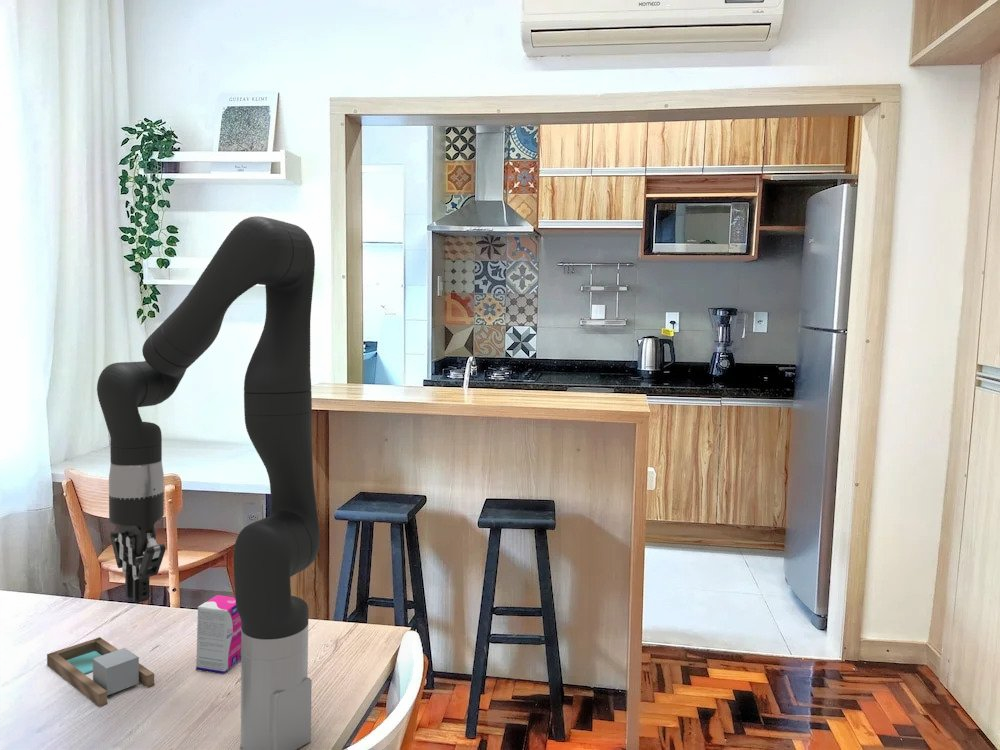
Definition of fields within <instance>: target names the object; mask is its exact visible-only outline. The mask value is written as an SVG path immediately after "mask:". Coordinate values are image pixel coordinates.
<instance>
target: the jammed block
mask: <svg viewBox="0 0 1000 750" xmlns="http://www.w3.org/2000/svg"><path fill="white" fill-rule="evenodd" d="M139 658H140V657H139V656H138V655H136V654H135V653H134V652H132V651H131V650H129V649H128V648H126V647H122V648H120V649H119V648H118V650H116V651H113V652H111V653H108V654H105V655H102V656H99V657H96V658H93V672H92V680H93V681H94V682H95V683H97V684H98V685H99V686H101V687H102V688H103V689H105V690H106V691H107V696H109V695H112V694H114V693H117V692H119V691H123V690H125V689H127V688H131V687H132V686H133V687H134V686H136V685H137V684H138V685H139V684H140V683H139V664H140V659H139Z"/></svg>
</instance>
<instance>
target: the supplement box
mask: <svg viewBox="0 0 1000 750" xmlns="http://www.w3.org/2000/svg"><path fill="white" fill-rule="evenodd" d="M196 624H197V626H196V627H197V628H196V629H197V630H196V660H195V661H196V662H195V663H196V665H195V670H196V671H199V670H201V671H200V672H206V671H208V673H213V672H214V673H213V674H219V673H220V674H221V675H225V674H226V673H227V672H229V671H230V670H231V669H232V668H233V667H235V666H236V665H237V664H238V663H240V662H241V661H240V660H241V635H242V624H241V618H240V615H239V613H238V611H237V607H236V601H235V597H234V596H233V597H232V596H225V595H219V594H216V595H215V596H213V597H211V598H210V599H208V600H207V601H205V602H203V603H202V604H200V605H199V606H197V623H196ZM239 661H240V662H239ZM235 664H236V665H235Z"/></svg>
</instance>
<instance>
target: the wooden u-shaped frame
mask: <svg viewBox="0 0 1000 750" xmlns="http://www.w3.org/2000/svg"><path fill="white" fill-rule="evenodd" d="M116 650H119V648H117V647H116V646H114V645H112V644H111V643H109V642H108V641H107V640H105V639H103V638H102V637H96V638H93V639H91V640H87V641H83V642H81V643H76V644H74V645H72V646H68V647H65V648H62V649H60V650H59V649H58V650H56V651H52V652H50V653H47V654H46V665H47V666H48V667H49V668H50V669H51V670H52V671H53V672H55V673H56V674H57V675H58V676H60V677H61V678H63V679H64V681H66V682H68V683H69V684H70V685H71V686H72V687H74V688H75V689H76V690H77V691H79V692H80V693H81V694H82V695H84V696H85V697H86V698H87V699H89V700H90V701H91V702H93V703H94V704H95V705H96V706H98V707H99V708H100V707H102V706H104V705H108V695H107V691H106V690H105V689H103V688H102V687H101V686H99V685H98V684H97V683H95V682H94V681H93V679H92V678H90V677H89V676H87V675H88V674H90V673H93V658H96V657H99V656H102V655H105V654H108V653H111V652H113V651H116ZM139 682H140V683H139V684H141V685H142V684H143V685H142V686H144V687H145V686H146V687H145V688H147V687H148V688H150V687H152V685H153V686H155V673H154V672H153V671H151V670H150V669H149V668H147V667H145V666H144V665H143V664H141V663H139ZM149 686H150V687H149Z"/></svg>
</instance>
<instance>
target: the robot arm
mask: <svg viewBox="0 0 1000 750" xmlns="http://www.w3.org/2000/svg"><path fill="white" fill-rule="evenodd" d="M315 257H316V256H315V247H314V245H313V241H312V239H311V237H310V235H309V234H308V232H307V231H306V230H304V229H303V227H301V226H299V225H296V224H294V223H289V222H286V221H282V220H278V219H275V218H269V217H264V216H259V215H258V216H257V215H256V216H249V217H247V218H244V219H242V220H241V221H240V222H238V223H237V224H236V225H235V226H234V227H233V228H232V229H231V231H230V232H229V233H228V235H227V236H226V237H225V239H224V240H223V242H221V244H220V246H219V248H218V249H217V251H216V253H215V254H214V255H213V256H212V258H211V259H210V262H209V263H208V264H207V265H206V267H205V268H204V270H203V271H202V273H201V275H200V276H199V278H198V280H197V281H196V282H195V284H194V286H192V288H191V289H190V291H189V292H188V294H187V295H186V297H185V298H184V299H183V301H181V302H180V304H178V306H177V307H176V308H175V309H174V310H173V311H172V312H171V313H170V314H169V316H167V318H166V319H165V320H163V322H162V323H161V324H160V325H159V326H158V327H156V329H155V330H154V331H153V332H152V333H151V334H150V335H149V336H148V337H147V339H146V340H145V341H144V343H143V345H142V356H143V358H144V361H125V362H124V361H122V362H114V363H111V364H108V365H107V366H106V367H104V368H103V370H102V371H101V372H100V374H99V376H98V380H97V383H96V392H97V399H98V402H99V405H100V408H101V412H102V415H103V417H104V418H103V419H104V421H105V425H106V428H107V431H108V433H109V434H108V435H109V437H110V443H109V445H110V447H109V448H110V452H109V453H110V468H109V474H108V520H109V523H111V524H112V525H115V526H118V529H117V530H115V531H110V534H109V536H110V541H111V545H112V549H113V553H114V557H115V562H116V566H117V568H118V569H121V570H122V574H123V576H125V577H124V578H125V579H124V583H125V587H124V589H125V594H124V595H125V598H127V599H128V600H132V601H133V602H134V603H136V604H139V603H144V602H146V601H148V600H149V599H150V577H153V576H158V573H159V572H160V571H159V570H160V568H161V565H162V562H163V559H164V555H165V552H166V545H165V543H162V544H158V543H157V541H156V538H157V533H156V527H155V525H156V523H157V522H159V521H160V520H162V519H163V517H164V515H165V513H164V512H165V504H164V502H165V499H164V498H165V497H164V496H165V495H164V493H165V490H164V489H165V488H164V487H165V486H164V484H165V481H164V480H165V478H164V477H165V475H164V469H163V451H162V449H163V448H162V447H163V446H162V445H163V443H162V440H163V439H162V437H163V436H162V429H161V427H160V426H159V425H158V424H156V423H154V422H150V421H143V420H142V419H143V418H141V414H140V412H139V408H144V407H152V406H156V405H159V404H162V403H164V402H165V401H166V400H168V399H169V398H170V397H172V395H173V394H174V393H175V392H176V390H177V388H178V386H179V384H180V383H181V381H182V379H183V378H184V376H185V373H186V372H187V370H188V368H189V367H190V366H192V365H193V364H194V363H195V362H196V361H197V360H198V359H199V358H201V356H202V355H203V354H204V353H205V352H206V351H207V350H208V349H209V348H210V347H211V345H212V344H214V342H215V340H216V339H217V338H218V337H217V336H219V332H220V330H221V327H222V324H223V321H224V317H225V315H226V313H227V311H228V309H229V308H230V307H231V305H232V304H233V302H235V301H236V300H237V299H238V298H239V297H241V296H242V295H243V294H244V293H246V292H247V291H248V290H250V289H251V288H253V287H255V286H256V285H261V286H263V285H264V288H265V318H264V319H265V320H264V326H263V329H262V332H261V334H260V336H259V340H258V341H257V345H256V347H255V348H254V351H253V353H252V355H251V358H250V359H249V362H248V365H247V368H246V371H245V376H244V380H243V382H244V383H243V405H244V406H243V410H244V413H243V414H244V423H245V430H246V432H247V434H248V437H249V439H250V441H251V443H252V445H253V447H254V449H255V451H256V453H257V454H258V456H259V458H260V460H261V461H262V463H263V467H265V469H266V472H267V475H268V476H267V477H268V480H269V487H270V488H269V490H270V510H269V516H267V517H264V518H262V519H259V520H257V521H254V522H251V523H249V524H248V525H246V526H244V527H243V528H242V529H241V531H240V532H239V533H238V535H237V537H236V540H235V544H234V548H233V576H234V578H233V580H234V581H233V582H234V595H235V597H234V598H235V601H236V607H237V611H238V613H239V615H240V618H241V624H242V635H241V661H240V667H241V668H240V669H241V670H240V747H241V750H298V749H300V748H301V747H303V746H305V745H307V744H309V743H310V742H311V741H312V689H313V688H312V686H313V685H312V679H311V678H310V677H308V673H309V672H308V669H309V668H308V667H309V619H310V618H309V613H310V611H309V606H308V604H307V602H306V601H305V600H304V599H302V598H301V597H298V596H294V595H292V590H291V577H293V576H295V575H296V574H298V573H300V572H301V573H302V571H303V570H306V569H307V568H309V567H310V566H311V565H312V563H314V561H315V559H316V558H317V556H318V554H319V549H320V543H321V538H320V537H321V535H320V534H321V533H320V523H319V522H320V521H319V515H318V508H317V500H316V492H315V483H314V482H315V481H314V466H313V465H314V463H313V459H314V458H313V439H312V438H313V437H312V427H313V426H312V423H313V422H312V421H313V417H312V416H313V415H312V414H313V411H312V410H313V408H312V407H313V406H312V405H313V403H312V402H313V401H312V400H313V398H312V378H311V377H312V376H311V375H312V374H311V313H312V304H313V303H312V302H313V292H314V284H315V283H314V280H315V269H316V268H315V266H316V258H315Z"/></svg>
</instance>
